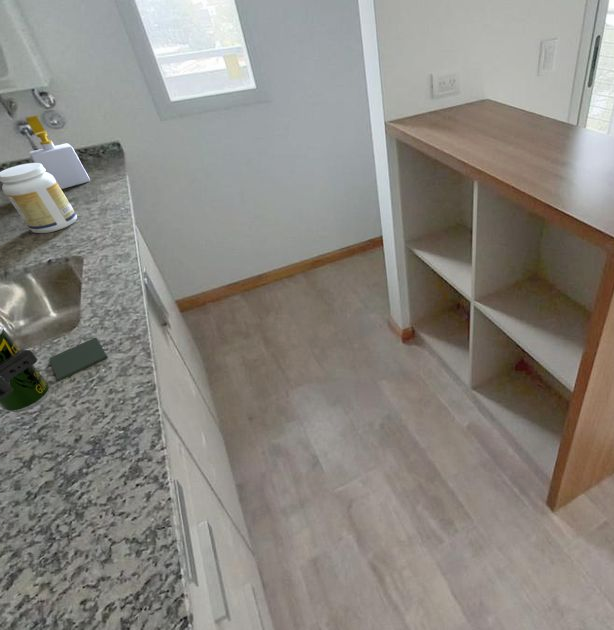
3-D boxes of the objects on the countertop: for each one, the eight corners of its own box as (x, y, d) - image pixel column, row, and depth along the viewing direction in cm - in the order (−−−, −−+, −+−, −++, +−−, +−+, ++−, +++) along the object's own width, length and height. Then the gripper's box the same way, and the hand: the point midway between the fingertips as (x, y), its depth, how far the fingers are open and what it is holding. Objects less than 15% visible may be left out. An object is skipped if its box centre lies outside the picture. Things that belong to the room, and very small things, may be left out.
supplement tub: (66, 213, 138) (33, 159, 127) (87, 220, 133) (54, 164, 122) (23, 230, 130) (-16, 173, 119) (43, 238, 125) (4, 180, 114)
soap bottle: (53, 192, 154) (9, 121, 139) (49, 187, 158) (7, 118, 143) (91, 181, 160) (54, 112, 146) (87, 177, 164) (50, 110, 149)
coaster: (59, 381, 78) (57, 379, 77) (50, 359, 82) (48, 358, 82) (108, 357, 82) (106, 355, 81) (97, 338, 86) (96, 336, 86)
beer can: (5, 420, 58) (-60, 353, 50) (4, 397, 61) (-57, 331, 54) (53, 400, 60) (-3, 333, 53) (50, 378, 63) (-3, 313, 56)
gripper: (-146, 450, 41) (35, 338, 54) (-214, 410, 46) (-33, 316, 58) (-86, 493, 46) (69, 381, 58) (-154, 453, 51) (2, 357, 63)
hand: (17, 349), depth 58 cm, fingers closed on beer can, 5 cm apart
